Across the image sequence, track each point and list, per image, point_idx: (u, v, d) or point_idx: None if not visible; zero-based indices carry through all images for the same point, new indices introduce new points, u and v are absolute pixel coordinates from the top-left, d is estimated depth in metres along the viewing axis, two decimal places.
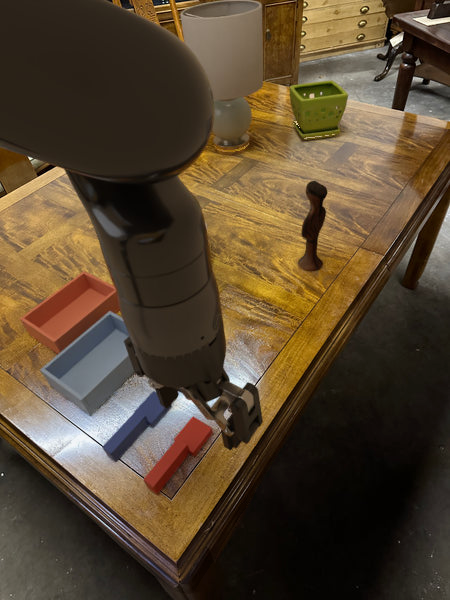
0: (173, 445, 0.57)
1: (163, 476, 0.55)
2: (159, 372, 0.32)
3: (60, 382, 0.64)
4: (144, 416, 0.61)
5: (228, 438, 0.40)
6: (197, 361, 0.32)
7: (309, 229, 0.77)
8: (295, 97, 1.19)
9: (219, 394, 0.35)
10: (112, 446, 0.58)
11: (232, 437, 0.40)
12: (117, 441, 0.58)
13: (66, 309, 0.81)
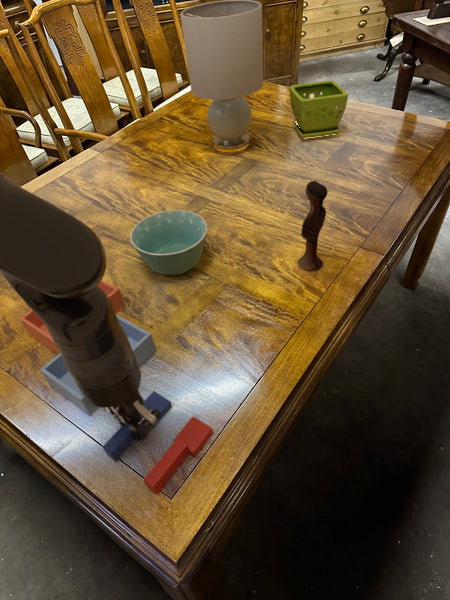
0: (173, 445, 0.57)
1: (163, 476, 0.55)
2: (91, 398, 0.49)
3: (60, 382, 0.64)
4: None
5: (134, 433, 0.59)
6: (115, 391, 0.49)
7: (309, 229, 0.77)
8: (295, 97, 1.19)
9: (135, 411, 0.52)
10: (112, 446, 0.58)
11: (137, 432, 0.59)
12: (117, 441, 0.58)
13: None
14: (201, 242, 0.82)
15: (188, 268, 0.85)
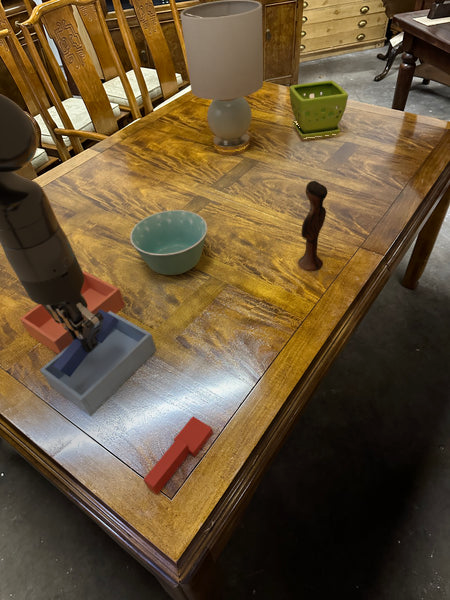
0: (173, 445, 0.57)
1: (163, 476, 0.55)
2: (33, 294, 0.53)
3: (60, 382, 0.64)
4: None
5: (83, 342, 0.63)
6: (55, 286, 0.52)
7: (309, 229, 0.77)
8: (295, 97, 1.19)
9: (78, 312, 0.56)
10: (61, 364, 0.62)
11: (85, 342, 0.63)
12: (65, 359, 0.63)
13: None
14: (201, 242, 0.82)
15: (188, 268, 0.85)
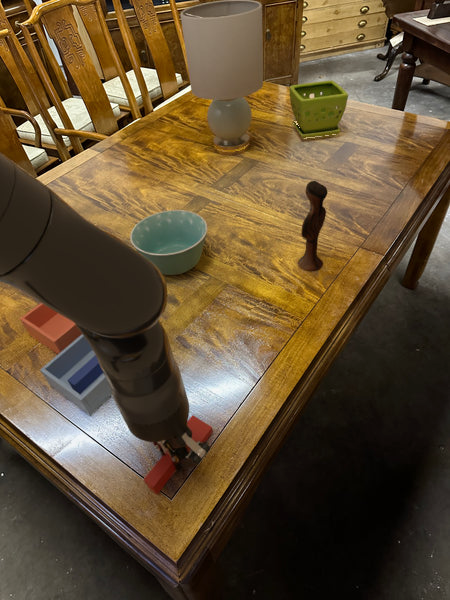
0: None
1: (163, 476, 0.55)
2: (139, 432, 0.45)
3: (60, 382, 0.64)
4: None
5: (176, 463, 0.55)
6: (165, 426, 0.45)
7: (309, 229, 0.77)
8: (295, 97, 1.19)
9: (184, 445, 0.48)
10: (76, 379, 0.66)
11: (179, 462, 0.55)
12: (80, 375, 0.66)
13: None
14: (201, 242, 0.82)
15: (188, 268, 0.85)
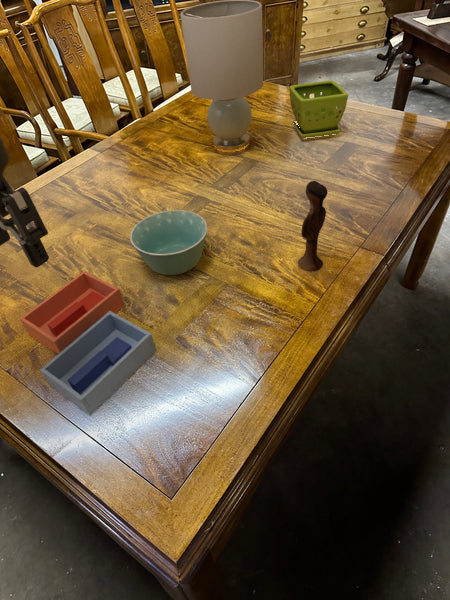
0: (72, 305, 0.78)
1: (62, 323, 0.76)
2: None
3: (60, 382, 0.64)
4: (106, 355, 0.69)
5: (27, 251, 0.49)
6: None
7: (309, 229, 0.77)
8: (295, 97, 1.19)
9: (0, 198, 0.45)
10: (76, 379, 0.66)
11: (30, 250, 0.49)
12: (80, 375, 0.66)
13: (66, 309, 0.81)
14: (201, 242, 0.82)
15: (188, 268, 0.85)
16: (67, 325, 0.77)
